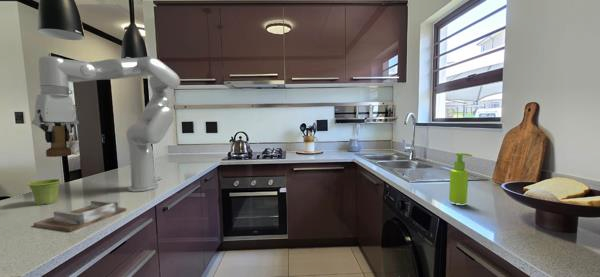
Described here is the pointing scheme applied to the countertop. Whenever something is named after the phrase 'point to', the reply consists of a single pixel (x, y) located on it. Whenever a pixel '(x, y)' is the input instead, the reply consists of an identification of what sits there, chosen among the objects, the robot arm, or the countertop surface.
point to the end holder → (81, 216)
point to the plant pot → (45, 191)
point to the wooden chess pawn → (58, 143)
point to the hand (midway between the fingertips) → (58, 141)
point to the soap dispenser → (459, 181)
